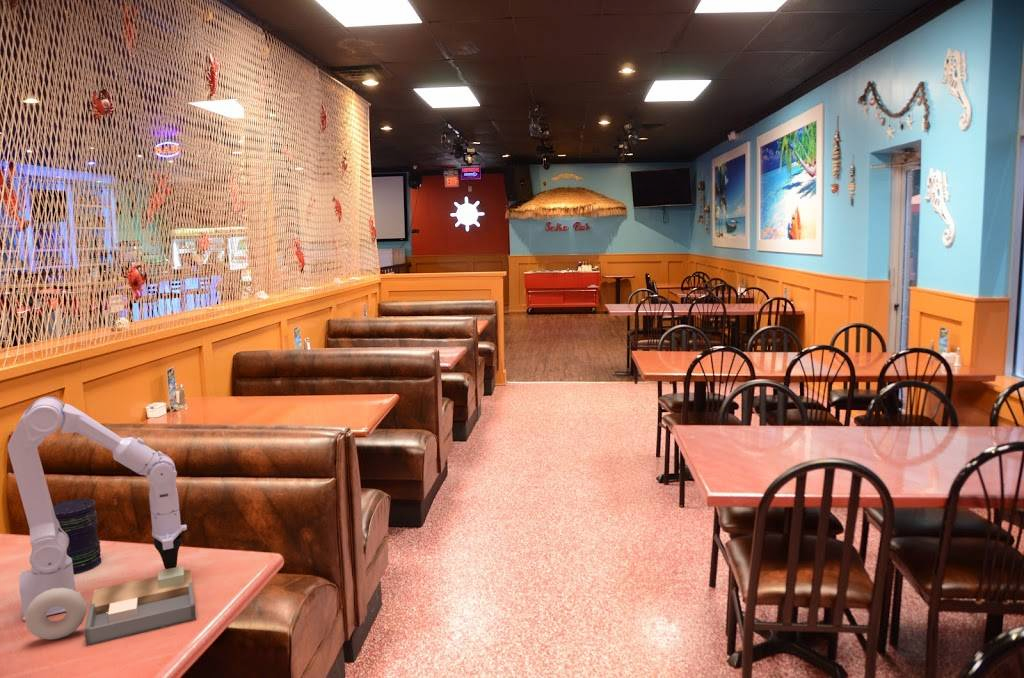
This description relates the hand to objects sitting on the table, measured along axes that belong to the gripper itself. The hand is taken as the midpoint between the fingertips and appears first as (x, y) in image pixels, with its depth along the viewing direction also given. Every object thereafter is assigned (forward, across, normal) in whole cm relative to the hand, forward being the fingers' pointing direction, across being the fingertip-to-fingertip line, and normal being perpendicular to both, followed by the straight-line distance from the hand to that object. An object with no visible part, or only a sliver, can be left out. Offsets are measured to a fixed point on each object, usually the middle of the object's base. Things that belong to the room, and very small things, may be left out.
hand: (171, 568), depth 160 cm
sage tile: (+1, -5, 0) cm, 5 cm away
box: (+3, -16, +6) cm, 17 cm away
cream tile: (+2, -13, +9) cm, 16 cm away
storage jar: (+3, +20, +20) cm, 29 cm away
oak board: (+3, -5, +6) cm, 8 cm away
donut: (+3, -16, +20) cm, 26 cm away
